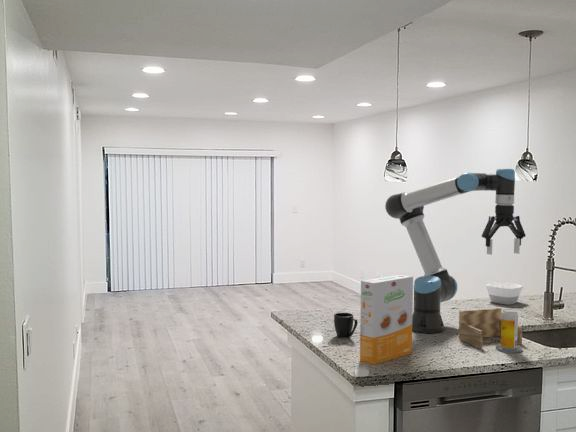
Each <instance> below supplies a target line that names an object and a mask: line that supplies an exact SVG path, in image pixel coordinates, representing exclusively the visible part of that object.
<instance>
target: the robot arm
mask: <svg viewBox="0 0 576 432" xmlns="http://www.w3.org/2000/svg"><path fill="white" fill-rule="evenodd" d="M515 174H516V172H515V169H513V168H497V169H496V172H494V173H487V172H485V173H482V172H481V173H480V172H475V173H474V172H465V173H462V174H461V175H459V176H457V177H453V178H450V179H448V180H444V181H441V182H438V183H435V184H432V185H429V186H426V187H423V188H420V189H417V190H414V191H411V192H406V191H404V192H401V193H397V194H396V193H395V194H393V195H390V196H389V197H388V198H387V199H386V201H385V205H384V207H385V212H386V213H387V215H388V216H389V217H391V218H393V219H396V220H397V219H398V220H399V222H400V224H401V225H402V226H403V227H405V228H406V231H407V233H408V236H409V238H410V240H411V243H412V245H413V248H414V249H415V250H414V251H415V253H416V256H417V257H418V259H419V262H420V265H421V267H422V270H423V272H424V275H422V276H419V277H417V278H415V280H413V312H412V332H417V333H420V334H421V333H423V334H438V333H439V334H440V333H442V332H444V331H445V325H444V321H443V319H442V314H441V303H444V302H447V301H449V300H451V299H452V298H454V297H455V296H456V294H457V292H458V283H457V281H456V279H455V278H454V277H453V276H452V275H450V273H449V271H448V269H447V268H444V267H443V265H442V264H441V261H440V259H439V256H438V253H437V252H436V248H435V246H434V244H433V242H432V239H431V237H430V234H429V232H428V230H427V228H426V225H425V222H424V219H425V214H424V210H425V209H424V208H425V206H428V205H430V204H433V203H438V202H439V201H444V200H446V199H450V198H452V197H456V196H459V195H464V194H466V193H469V192H476V191H481V192H482V191H484V192H485V191H486V192H487V191H492V192H493V191H495V201H494V202H495V204H496V205H495V209H494V211H495V212H494V213H495V216H494V215H489V216H488V219H487V220H488V221H487V223H486V224H485V225H486V226H485V227H484V229H483V232H482V233H481V238H483V239H484V240H485V247H486V255H493V240H494V239H492V237H493V236H494V235H495V234H496V232H497V231H498V230H499V228H501V227H508V228H509V229H510V231H511V232H512V234H513V235H514V236H515V237H514V239H513V243H514V244H513V253H514V254H520V248H521V246H522V240H523V239H524V238H525V237H526V233H525V230H524V228H523V225H522V222H521V219H520V218H521V217H520V215H514V213H515V205H514V204H515V188H516V187H515V186H516V184H515V183H516V175H515Z"/></svg>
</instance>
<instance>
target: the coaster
mask: <svg viewBox="0 0 576 432" xmlns="http://www.w3.org/2000/svg"><path fill="white" fill-rule="evenodd" d="M495 350H497V351H499V352H502V353H506V352H507V353H506V354H508V353H509V354H520V353H522V352H523V348H522V347H520V346H518V345H517V348H516V349H514V350H508V349H504V348H502V346H501V344H497V345H495Z"/></svg>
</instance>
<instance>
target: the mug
mask: <svg viewBox="0 0 576 432" xmlns="http://www.w3.org/2000/svg"><path fill="white" fill-rule="evenodd" d="M358 321H359V320H358V319H356V318H354V314H353V313H350V312H337V313H334V314H333V324H334V329H335V333H336V334H335V335H336V337H337V338H340V339H349V338H351V337H352V336H353V335H354V332H355V331H356V328H357V326H358Z"/></svg>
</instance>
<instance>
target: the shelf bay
mask: <svg viewBox="0 0 576 432" xmlns="http://www.w3.org/2000/svg"><path fill="white" fill-rule="evenodd" d="M502 311H503V309H502V307H495V308H494V307H492V308H491V307H490V308H482V309H480V308H478V309H467V310H459V313H458V339H459V340H461V341H463V342H465V343H468V344H470V345H472V346H474V347H476V348H477V349H482V348H483V338H490V337H491V338H492V337H500V338H501V321H502ZM522 344H523V327H522V326H520V325H518V336H517V345H522Z"/></svg>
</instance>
